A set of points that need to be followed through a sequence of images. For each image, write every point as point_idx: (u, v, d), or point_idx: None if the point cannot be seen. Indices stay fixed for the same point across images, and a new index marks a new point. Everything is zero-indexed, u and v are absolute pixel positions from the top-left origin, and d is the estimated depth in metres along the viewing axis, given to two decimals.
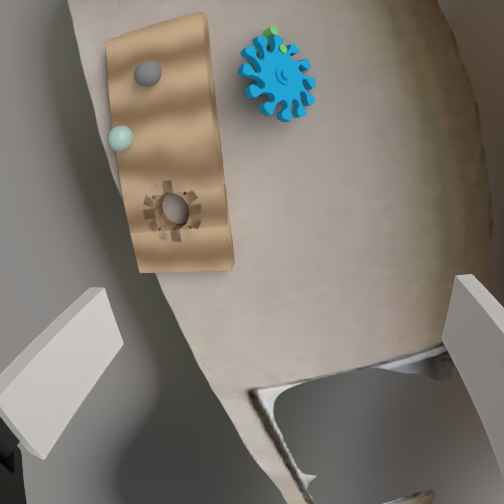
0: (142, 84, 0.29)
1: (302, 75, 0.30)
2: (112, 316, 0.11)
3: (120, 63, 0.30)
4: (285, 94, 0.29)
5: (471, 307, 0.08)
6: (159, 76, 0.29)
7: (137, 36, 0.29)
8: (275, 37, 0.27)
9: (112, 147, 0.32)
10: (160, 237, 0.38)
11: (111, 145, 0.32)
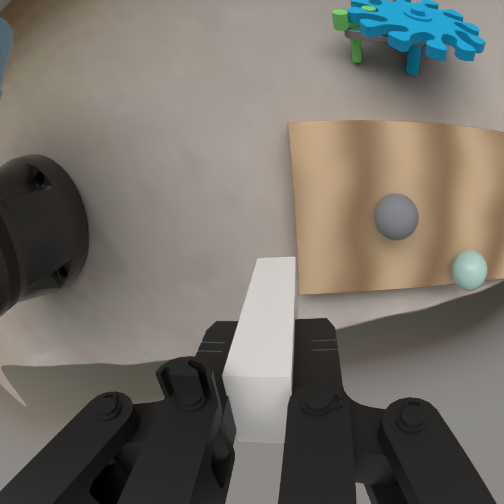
0: (416, 225, 0.19)
1: (400, 0, 0.15)
2: None
3: (351, 269, 0.23)
4: (444, 20, 0.13)
5: None
6: (406, 196, 0.19)
7: (310, 237, 0.23)
8: (353, 12, 0.15)
9: (483, 282, 0.19)
10: None
11: (481, 283, 0.19)
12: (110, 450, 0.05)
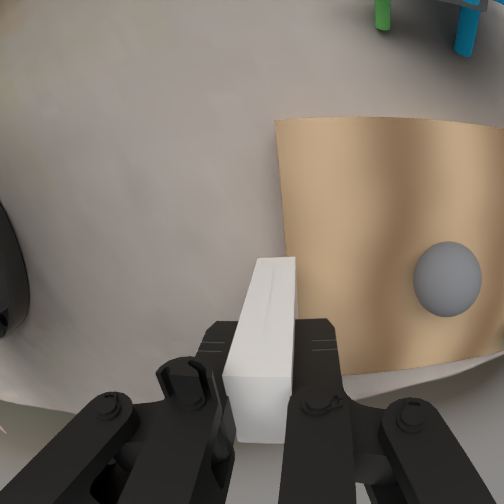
0: None
1: None
2: None
3: (369, 346, 0.15)
4: None
5: None
6: (466, 247, 0.11)
7: (310, 306, 0.14)
8: None
9: None
10: None
11: None
12: (110, 451, 0.05)
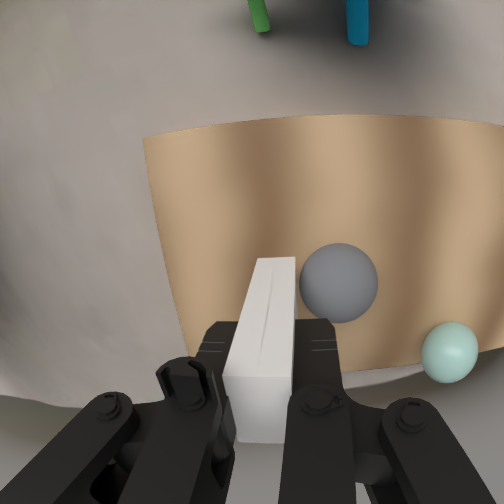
0: None
1: None
2: None
3: None
4: None
5: None
6: (354, 246, 0.12)
7: (193, 305, 0.15)
8: None
9: (468, 372, 0.12)
10: None
11: (465, 375, 0.12)
12: (110, 450, 0.05)
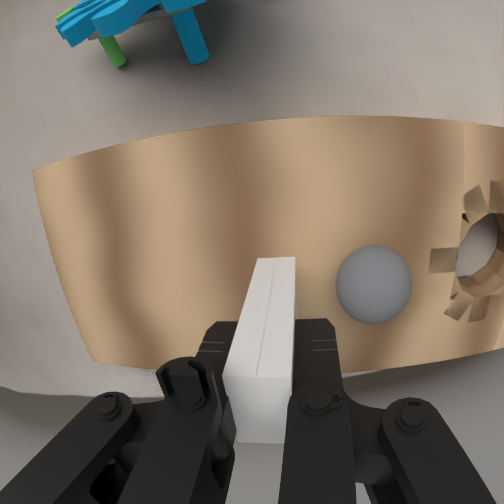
0: (406, 302, 0.11)
1: None
2: None
3: (132, 343, 0.17)
4: None
5: None
6: (393, 252, 0.11)
7: (78, 303, 0.16)
8: (78, 5, 0.09)
9: None
10: None
11: None
12: (110, 450, 0.05)
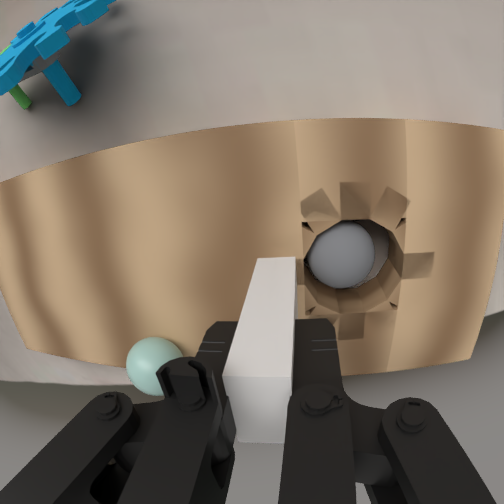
0: (317, 261, 0.13)
1: (55, 11, 0.10)
2: None
3: (47, 334, 0.18)
4: (55, 20, 0.09)
5: None
6: (339, 221, 0.13)
7: (10, 299, 0.18)
8: None
9: None
10: (413, 305, 0.14)
11: (160, 392, 0.14)
12: (110, 450, 0.05)
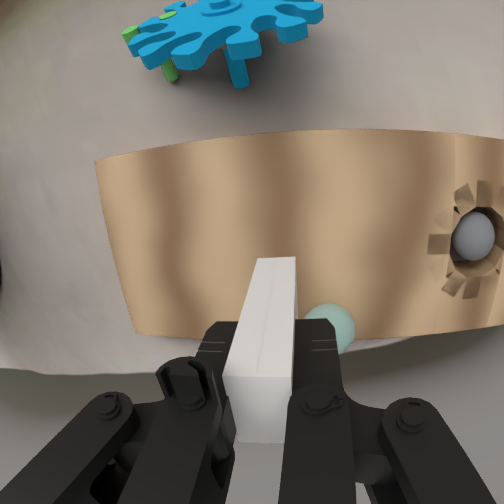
0: (471, 243, 0.15)
1: None
2: None
3: (177, 314, 0.21)
4: (262, 5, 0.11)
5: None
6: (477, 213, 0.15)
7: (130, 278, 0.20)
8: (142, 25, 0.13)
9: (344, 350, 0.16)
10: None
11: (339, 352, 0.16)
12: (110, 450, 0.05)
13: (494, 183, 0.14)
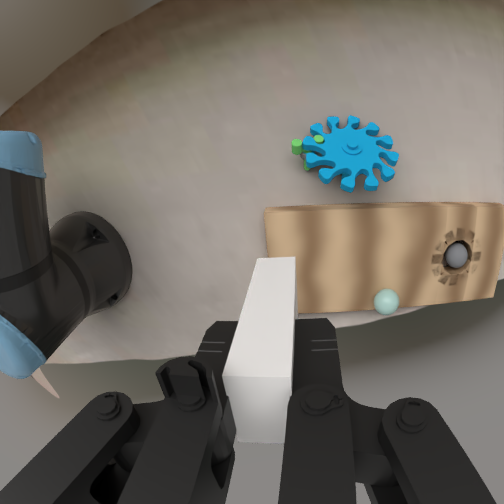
0: (457, 262, 0.32)
1: (348, 127, 0.30)
2: None
3: (304, 299, 0.38)
4: (372, 151, 0.28)
5: None
6: (460, 245, 0.32)
7: None
8: (306, 143, 0.30)
9: (395, 310, 0.33)
10: (473, 271, 0.33)
11: (393, 311, 0.33)
12: (110, 450, 0.05)
13: (465, 228, 0.31)
